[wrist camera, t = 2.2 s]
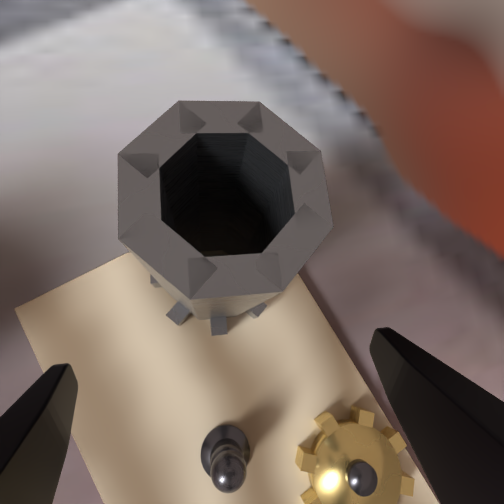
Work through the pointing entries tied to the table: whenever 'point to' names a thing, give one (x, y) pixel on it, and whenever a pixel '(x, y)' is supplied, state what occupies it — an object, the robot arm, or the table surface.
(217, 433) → the steel peg
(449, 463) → the robot arm
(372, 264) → the table surface
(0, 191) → the table surface
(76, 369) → the gear board
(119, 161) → the grey octagonal tube
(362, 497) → the brass gear
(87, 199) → the table surface
